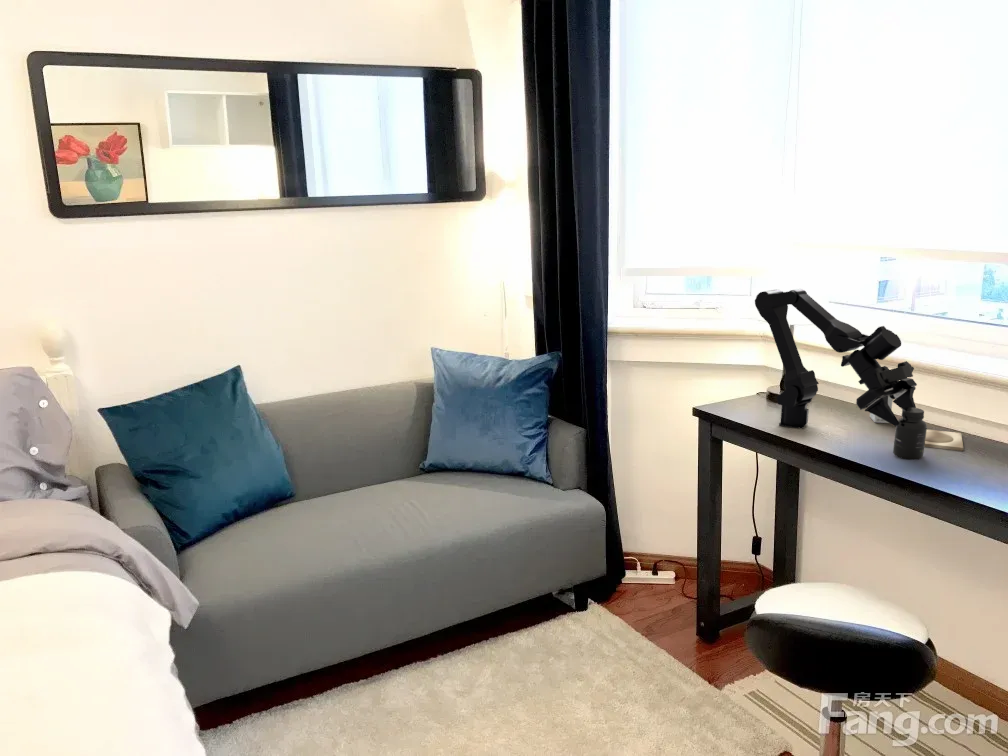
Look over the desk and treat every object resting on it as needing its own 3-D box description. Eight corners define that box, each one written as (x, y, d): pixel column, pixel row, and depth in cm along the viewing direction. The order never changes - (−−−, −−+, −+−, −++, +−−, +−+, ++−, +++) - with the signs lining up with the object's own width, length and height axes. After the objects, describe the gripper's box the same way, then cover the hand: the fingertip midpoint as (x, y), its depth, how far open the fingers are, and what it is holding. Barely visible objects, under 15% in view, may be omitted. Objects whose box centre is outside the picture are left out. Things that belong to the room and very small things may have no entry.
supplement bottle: (887, 455, 199) (892, 409, 196) (901, 449, 203) (906, 404, 200) (914, 462, 194) (920, 415, 191) (928, 456, 198) (934, 410, 195)
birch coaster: (905, 444, 207) (905, 441, 207) (906, 430, 218) (906, 426, 218) (963, 450, 201) (963, 447, 201) (960, 435, 212) (960, 432, 212)
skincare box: (890, 423, 224) (894, 382, 221) (874, 422, 225) (878, 381, 222) (885, 417, 230) (889, 376, 227) (869, 416, 231) (873, 376, 228)
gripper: (871, 357, 192) (912, 411, 186) (912, 346, 203) (952, 397, 197) (839, 383, 200) (877, 435, 194) (880, 371, 211) (917, 420, 205)
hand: (907, 421), depth 197 cm, fingers open, 9 cm apart
